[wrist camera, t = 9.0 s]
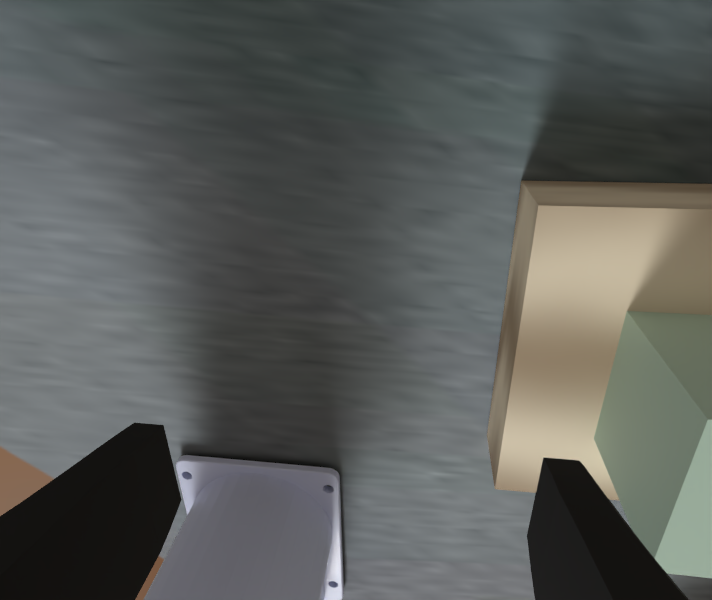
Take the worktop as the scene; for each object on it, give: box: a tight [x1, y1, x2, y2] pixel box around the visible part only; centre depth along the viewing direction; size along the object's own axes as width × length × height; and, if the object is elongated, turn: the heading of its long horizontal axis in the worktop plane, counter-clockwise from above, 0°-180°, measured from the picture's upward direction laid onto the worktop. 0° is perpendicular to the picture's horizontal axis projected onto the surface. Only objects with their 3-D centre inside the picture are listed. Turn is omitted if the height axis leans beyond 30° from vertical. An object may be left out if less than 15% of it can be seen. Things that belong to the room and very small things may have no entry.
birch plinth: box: [487, 181, 712, 500], centre depth 17 cm, size 11×11×3 cm
